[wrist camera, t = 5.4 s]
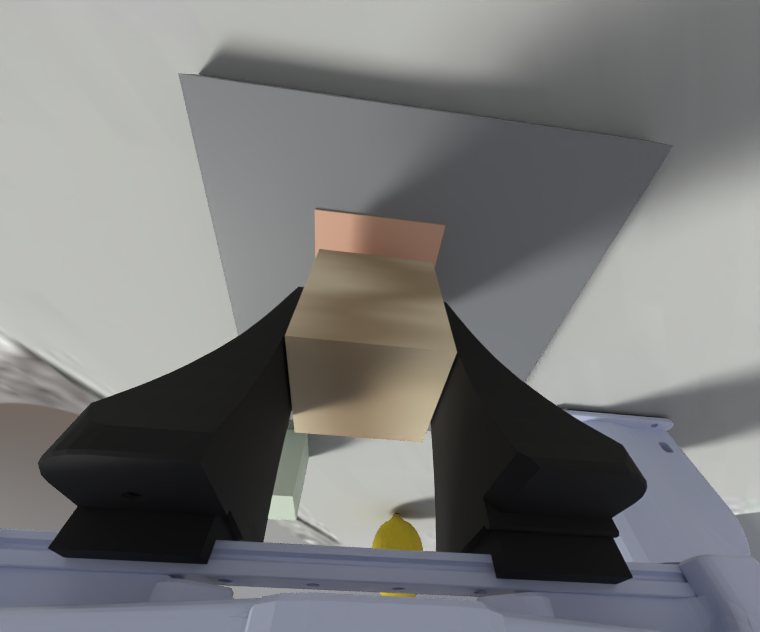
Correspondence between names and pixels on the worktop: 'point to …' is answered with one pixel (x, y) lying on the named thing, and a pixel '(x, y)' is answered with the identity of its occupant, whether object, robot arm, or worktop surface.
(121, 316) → the worktop surface
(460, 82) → the worktop surface
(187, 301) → the worktop surface
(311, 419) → the maple block
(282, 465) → the sage block
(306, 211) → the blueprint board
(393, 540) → the lemon
